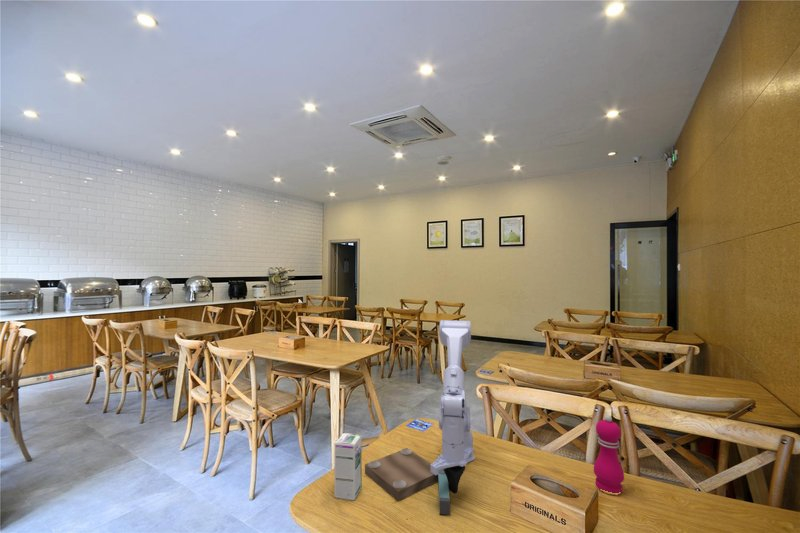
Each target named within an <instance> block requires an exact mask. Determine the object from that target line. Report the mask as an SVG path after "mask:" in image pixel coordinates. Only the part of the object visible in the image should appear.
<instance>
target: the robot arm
mask: <svg viewBox="0 0 800 533" xmlns="http://www.w3.org/2000/svg"><path fill="white" fill-rule="evenodd" d="M438 330H439V340H440V342H441V345H443V346H445V347H446V348H447V364H448V366H447V367H446V368H445V369H444V370H443V380H442V383H443V384H442V394H440V395H441V396H440V401H439V402H440V405H439V411H438V412H439V413H438V414H439V415H438V428H439V429H440V430H441V433H442V434H441V435H442V436H441V441H442V442H441V444H442V445H441V451H442V452H441V454H439V455H437V457H436V460H435V461H434V462H432V463H431V472H432V473H433V474H435V475H438V474H439V471H441V470H444V472H445V474H446V477H447V480H448V489H449V492H451V493H452V494H454V495H456V494H457V493H458V491H459V485H460V481H461V478H462V475H463V474H464V472H465V470H466V465H467V464H469V463H470V462H472V461H475V460H476V457H475V456H474V455H475V454H474V453H475V451H474V450H475V449H474V437H473V434H472V431H471V407H470V405H469V404H468V403H467V398H466V391H465V371H464V370H463V369H462V368H463V366H462V365H463V364H462V363H463V361H462V360H463V359H462V358H463V357H462V355H463V352H464V351H463V350H464V348H466V347H469V346H470V344H471V339H472V322H471V321H470V320H449V319H448V320H447V319H440V320H439V329H438Z"/></svg>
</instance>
